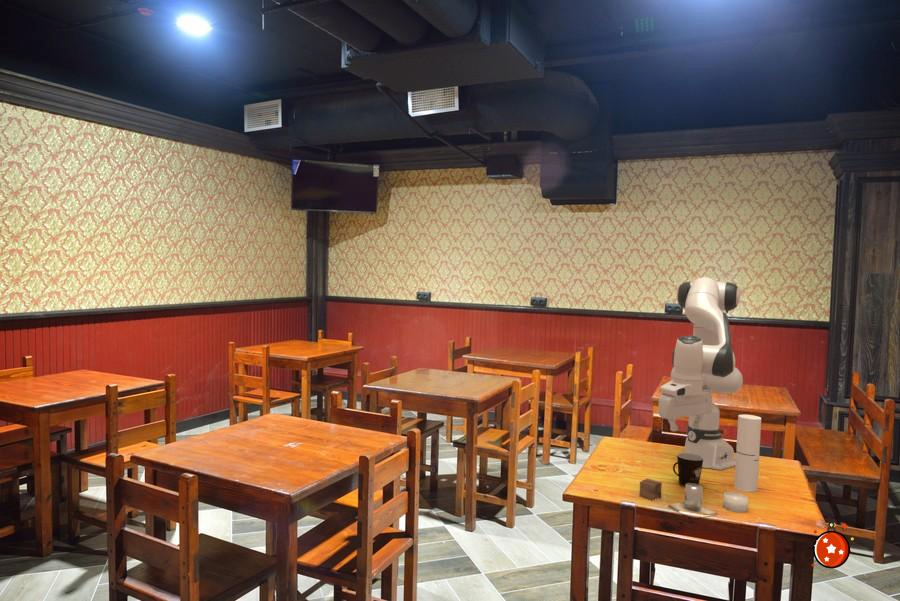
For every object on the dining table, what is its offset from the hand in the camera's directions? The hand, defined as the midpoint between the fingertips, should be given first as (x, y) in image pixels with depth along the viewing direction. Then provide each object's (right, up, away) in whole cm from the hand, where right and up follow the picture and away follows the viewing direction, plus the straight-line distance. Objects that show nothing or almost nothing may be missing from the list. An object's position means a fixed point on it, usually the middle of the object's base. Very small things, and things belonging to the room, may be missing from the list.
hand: (685, 429), depth 195 cm
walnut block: (-10, -23, +4) cm, 25 cm away
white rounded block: (+14, -24, -4) cm, 28 cm away
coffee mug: (+6, -23, +16) cm, 29 cm away
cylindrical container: (+27, -24, +15) cm, 39 cm away
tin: (-1, -23, -7) cm, 24 cm away
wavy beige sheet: (-1, -24, -8) cm, 25 cm away
